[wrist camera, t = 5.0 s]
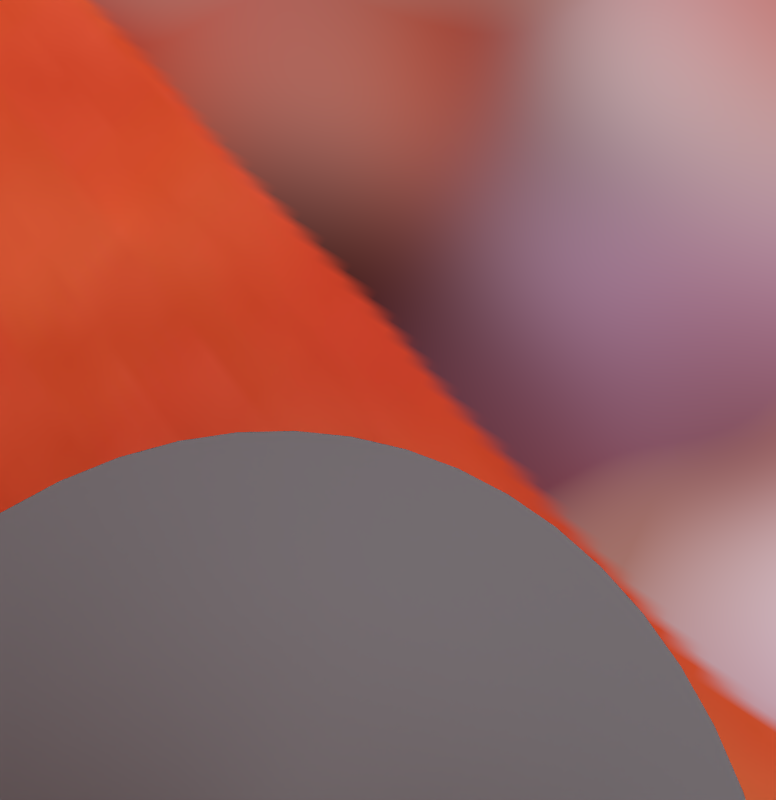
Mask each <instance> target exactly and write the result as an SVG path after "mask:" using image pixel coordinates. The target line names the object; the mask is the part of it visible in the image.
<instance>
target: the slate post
mask: <svg viewBox="0 0 776 800" xmlns="http://www.w3.org/2000/svg"><path fill="white" fill-rule="evenodd" d="M0 800H746V799H745V796H744V793H743V791H742V788H741V786H740V784H739V781H738V779H737V777H736V775H735V772H734V770H733V768H732V765H731V763H730V761H729V758H728V756H727V754H726V752H725V749H724V747H723V745H722V742H721V740H720V738H719V736H718V733H717V731H716V729H715V726H714V724H713V723H712V721H711V719H710V717H709V716H708V714H707V712H706V710H705V708H704V707H703V705H702V703H701V701H700V700H699V698H698V696H697V694H696V693H695V691H694V689H693V687H692V686H691V684H690V682H689V680H688V678H687V677H686V675H685V673H684V671H683V670H682V668H681V666H680V665H679V663H678V662H677V660H676V659H675V658H674V656H673V655H672V653H671V652H670V651H669V649H668V648H667V647H666V645H665V644H664V642H663V641H662V640H661V638H660V637H659V635H658V634H657V633H656V631H655V630H654V628H653V627H652V626H651V624H650V623H649V621H648V620H647V619H646V617H645V616H644V614H643V613H642V612H641V611H640V610H639V609H638V607H637V606H636V605H635V604H634V603H633V602H632V601H631V600H630V599H629V598H628V596H627V595H626V594H625V593H624V592H623V591H622V590H621V589H620V588H619V586H618V585H617V584H616V583H615V582H614V581H613V580H612V579H611V578H610V576H609V575H608V574H607V573H606V572H605V571H604V570H603V569H602V568H601V567H600V566H599V565H598V564H597V563H596V562H595V561H594V560H592V559H591V558H590V557H589V556H588V555H587V554H586V553H584V552H583V551H582V550H581V549H580V548H579V547H578V546H577V545H575V544H574V543H573V542H572V541H571V540H570V539H569V538H567V537H566V536H565V535H564V534H563V533H562V532H561V531H559V530H558V529H557V528H556V527H555V526H553V525H552V524H550V523H549V522H547V521H546V520H544V519H543V518H541V517H540V516H539V515H537V514H536V513H534V512H533V511H531V510H530V509H528V508H527V507H525V506H524V505H523V504H521V503H520V502H518V501H517V500H515V499H514V498H512V497H511V496H509V495H508V494H506V493H504V492H502V491H500V490H498V489H496V488H494V487H492V486H491V485H489V484H487V483H485V482H483V481H481V480H479V479H477V478H475V477H473V476H471V475H469V474H467V473H465V472H463V471H462V470H460V469H458V468H455V467H452V466H450V465H447V464H444V463H441V462H439V461H436V460H433V459H431V458H428V457H425V456H422V455H420V454H417V453H414V452H411V451H409V450H406V449H402V448H398V447H393V446H389V445H385V444H380V443H376V442H372V441H367V440H363V439H359V438H354V437H349V436H339V435H329V434H319V433H309V432H299V431H277V432H237V433H230V434H224V435H217V436H210V437H203V438H197V439H190V440H183V441H177V442H174V443H170V444H166V445H163V446H159V447H155V448H152V449H148V450H144V451H141V452H137V453H133V454H130V455H126V456H122V457H119V458H116V459H114V460H111V461H109V462H106V463H104V464H101V465H99V466H96V467H94V468H91V469H89V470H86V471H84V472H82V473H79V474H77V475H74V476H72V477H69V478H67V479H64V480H62V481H59V482H57V483H55V484H53V485H52V486H50V487H48V488H46V489H44V490H42V491H40V492H39V493H37V494H35V495H33V496H31V497H29V498H27V499H26V500H24V501H22V502H20V503H18V504H16V505H14V506H13V507H11V508H9V509H7V510H5V511H3V512H1V513H0Z"/></svg>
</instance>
